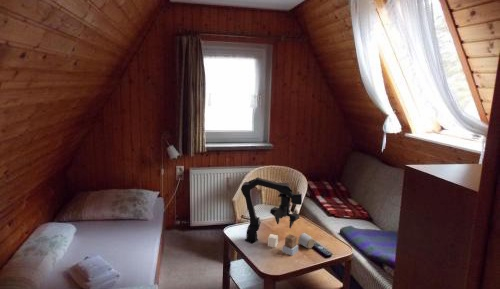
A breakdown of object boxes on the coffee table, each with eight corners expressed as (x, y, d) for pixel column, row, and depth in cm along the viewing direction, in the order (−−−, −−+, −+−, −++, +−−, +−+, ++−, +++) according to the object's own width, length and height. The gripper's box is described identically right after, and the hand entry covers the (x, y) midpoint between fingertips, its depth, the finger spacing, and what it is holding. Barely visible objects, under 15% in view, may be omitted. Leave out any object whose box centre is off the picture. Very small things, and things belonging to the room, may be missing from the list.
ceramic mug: (307, 250, 209) (308, 239, 207) (297, 245, 215) (298, 234, 213) (318, 246, 215) (319, 235, 214) (308, 241, 221) (309, 230, 220)
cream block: (267, 245, 213) (268, 237, 212) (270, 242, 218) (270, 234, 216) (275, 247, 211) (275, 238, 210) (277, 244, 216) (278, 235, 215)
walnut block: (284, 246, 205) (285, 237, 204) (289, 243, 209) (289, 234, 208) (291, 248, 203) (292, 239, 201) (296, 245, 206) (296, 236, 205)
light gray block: (282, 252, 206) (282, 246, 205) (288, 247, 212) (288, 241, 211) (292, 255, 202) (292, 249, 201) (297, 251, 208) (298, 245, 207)
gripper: (265, 203, 210) (264, 226, 214) (291, 211, 199) (290, 235, 203) (275, 198, 219) (274, 220, 222) (300, 205, 208) (299, 228, 211)
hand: (283, 226), depth 214 cm, fingers open, 9 cm apart
